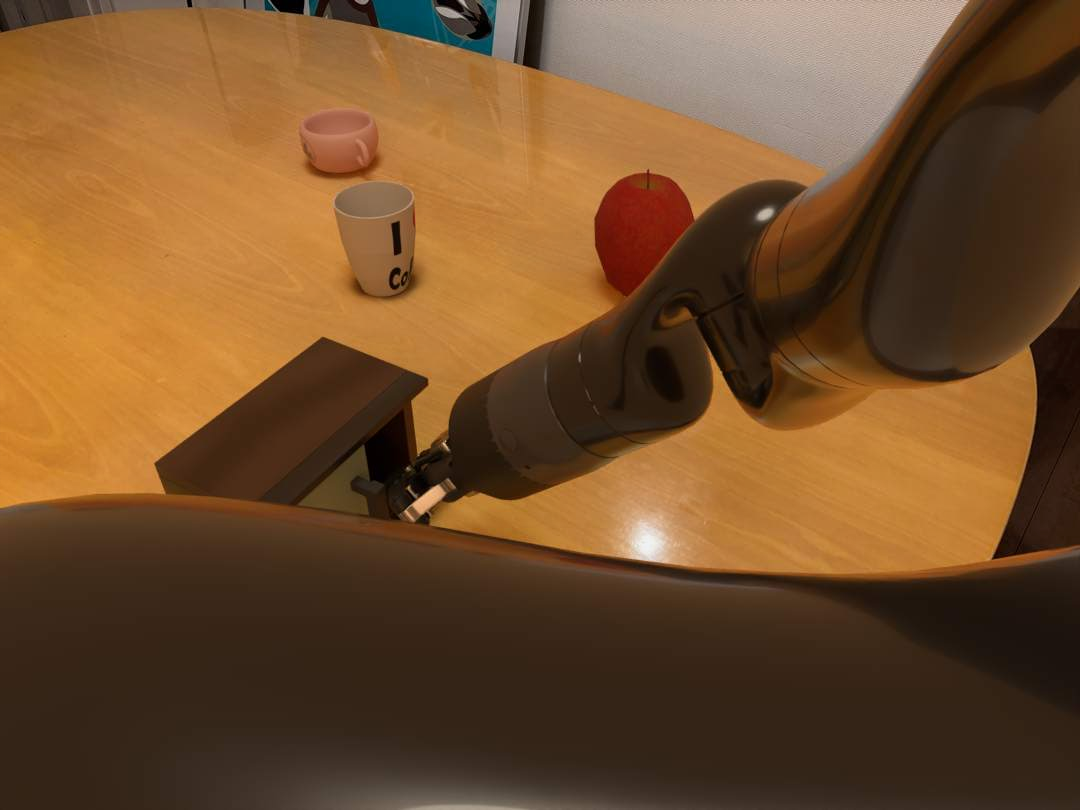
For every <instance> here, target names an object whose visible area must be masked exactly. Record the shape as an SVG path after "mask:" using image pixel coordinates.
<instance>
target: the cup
mask: <svg viewBox="0 0 1080 810" xmlns="http://www.w3.org/2000/svg"><path fill="white" fill-rule="evenodd" d="M415 205H416V204H415V193H414V192H413V190H412V189H411V188H410V187H408V186H407V185H405V184H402V183H399V182H395V181H388V180H369V181H364V182H358V183H354V184H351V185H349V186H347V187H345V188H342V189H341V190H339V191H338V192H337V193H336V194H335V195H334V197H333V199H332V206H333V210H334V211H333V212H334V215H335V219H336V224H337V228H338V232H339V237H340V240H341V243H342V247H343V249H344V252H345V254H346V258H347V261H348V263H349V266H350V268H351V271H352V273H353V275H354V277H355V278H356V280H357V283H358V284H359V286H360V288H361V289H362V291H363V292H365V293H366V294H367V295H370V296H374V297H379V298H380V297H384V298H385V297H391V296H396V295H398V294H400V293H402V292H403V291H405V290H406V289H407V288H408V286H409V283H410V279H411V274H412V271H413V267H414V262H415V261H414V259H415V246H416V236H417V234H416V233H417V232H416V206H415Z"/></svg>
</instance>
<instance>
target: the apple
mask: <svg viewBox="0 0 1080 810" xmlns="http://www.w3.org/2000/svg"><path fill="white" fill-rule="evenodd" d="M695 220H696V218H695V216H694V212H693V210H692V206H691V202H690V201H689V198H688V197H687V195H686V193H685V192H684V191H683V189H682V188H681V187H680V186H679V184H678V183H677V182H676V181H675V180H673V179H672V178H671V177H669V176H665V175H662V174H658V173H652V172H650V168H648V169H646V172H637V173H632V174H630V175H627V176H625V177H623V178H620V179H618V180H617V181H616V182H615V183H614V184H613V185H612V186H611V187H610V188H609V189H608V190H607V191H606V192H605V194H604V196H603V197H602V198H601V201H600V204H599V206H598V208H597V211H596V213H595V216H594V220H593V223H594V225H593V226H594V247H595V250H596V254H597V257H598V259H599V263H600V265H601V268H602V272H603V274H604V277H605V280H606V283H608V285H610V286H611V287H613V288H614V289H615V290H616V291H617V292H619V293H620V295H623V296H624V297H625V298H626V297H628V296H629V295H630V294H631V293H632V292H633V291H634V290H635V289H636V288H637V287H638V286H639V285H640V284H641V283H642V282H643V280H644V279H645V278H646V277H647V276H648V275H649V274H650V272H651V271H652V270H653V269H654V268H655V266H656V265H657V264H658V263H659V261H660V260H661V259H662V258H663V256H664V255H665V254H666V253H667V251H668V250H669V249H670V248H671V246H672V245H673V244H674V243H675V242H676V240H677V239H678V238H679V237H680V236H681V234H682V233H683V232H684V231H685V230H686V229H687V228H688V227H689V226H690V225H691V224H692V223H693V222H694V221H695Z"/></svg>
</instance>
